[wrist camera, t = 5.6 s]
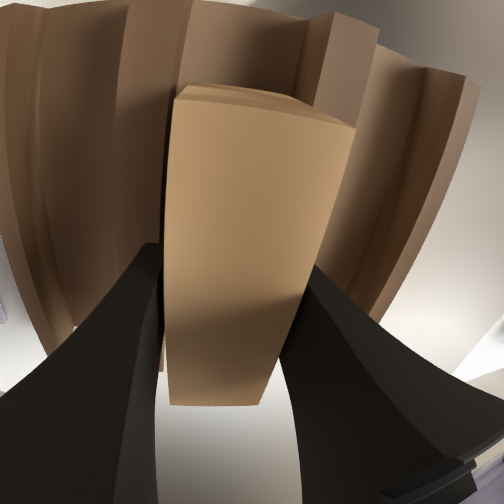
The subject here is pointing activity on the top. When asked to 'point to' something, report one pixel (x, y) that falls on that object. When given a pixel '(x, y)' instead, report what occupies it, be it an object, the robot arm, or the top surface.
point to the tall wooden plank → (241, 233)
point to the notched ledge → (159, 129)
